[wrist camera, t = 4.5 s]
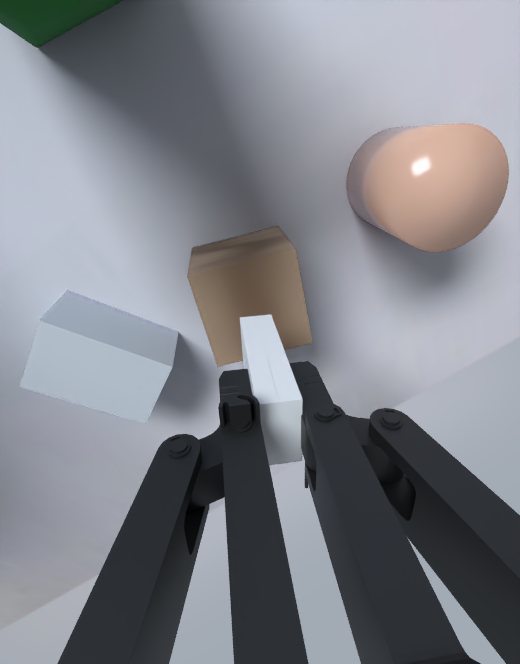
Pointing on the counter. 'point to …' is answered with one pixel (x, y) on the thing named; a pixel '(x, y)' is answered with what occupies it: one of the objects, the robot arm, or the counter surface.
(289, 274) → the walnut cube
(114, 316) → the grey brick
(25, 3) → the milk carton
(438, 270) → the counter surface
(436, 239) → the peach domed cylinder
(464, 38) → the counter surface
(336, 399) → the counter surface
